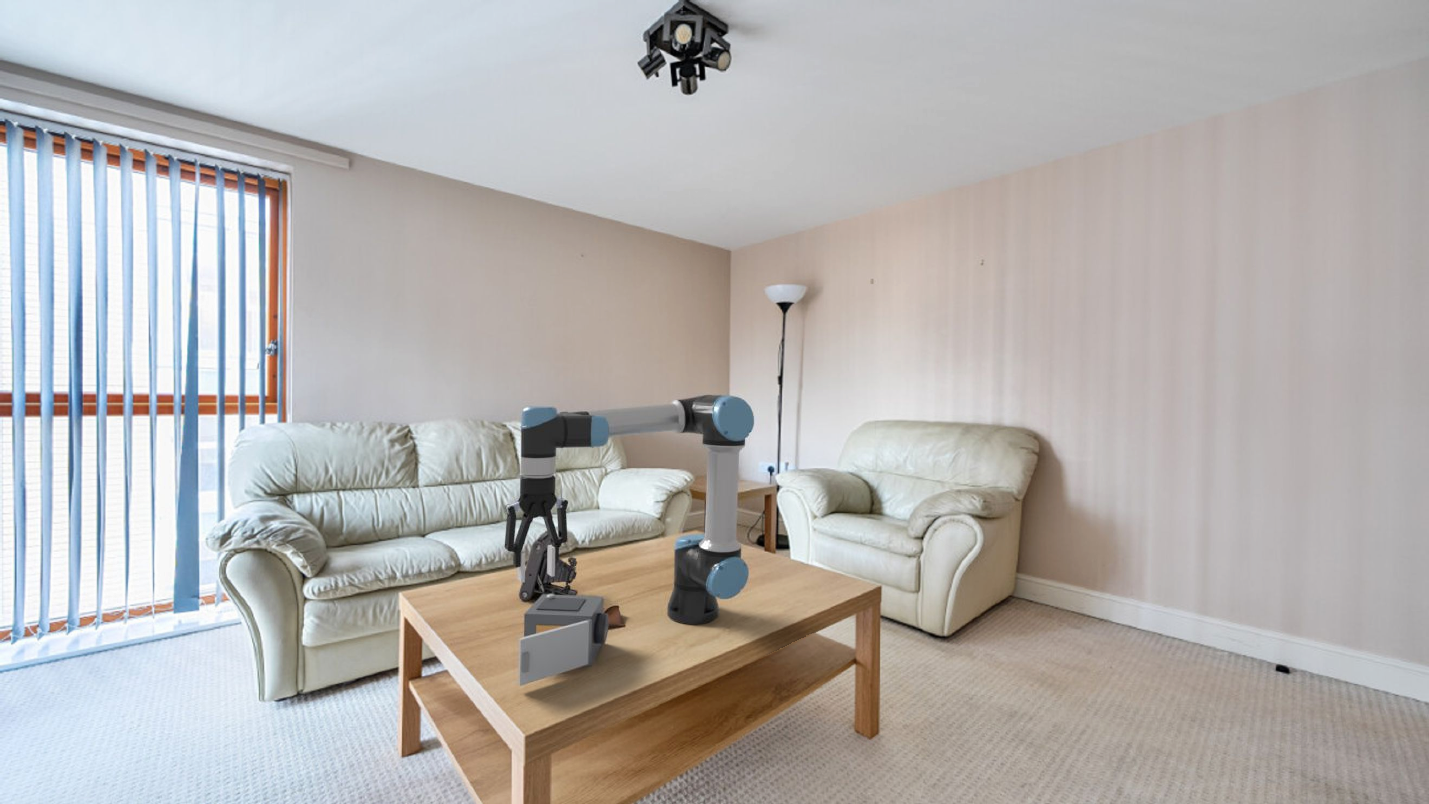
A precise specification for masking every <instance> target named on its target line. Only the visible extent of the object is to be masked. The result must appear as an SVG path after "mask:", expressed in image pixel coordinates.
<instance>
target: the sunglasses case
mask: <svg viewBox="0 0 1429 804" xmlns="http://www.w3.org/2000/svg"><path fill="white" fill-rule="evenodd" d="M603 613H608V617H609V626H608V630H609V629H616V628H622V627H626V624H624V621H623V618H622V615H621V611H620V606H619V605H610V606H607V607H603Z"/></svg>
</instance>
